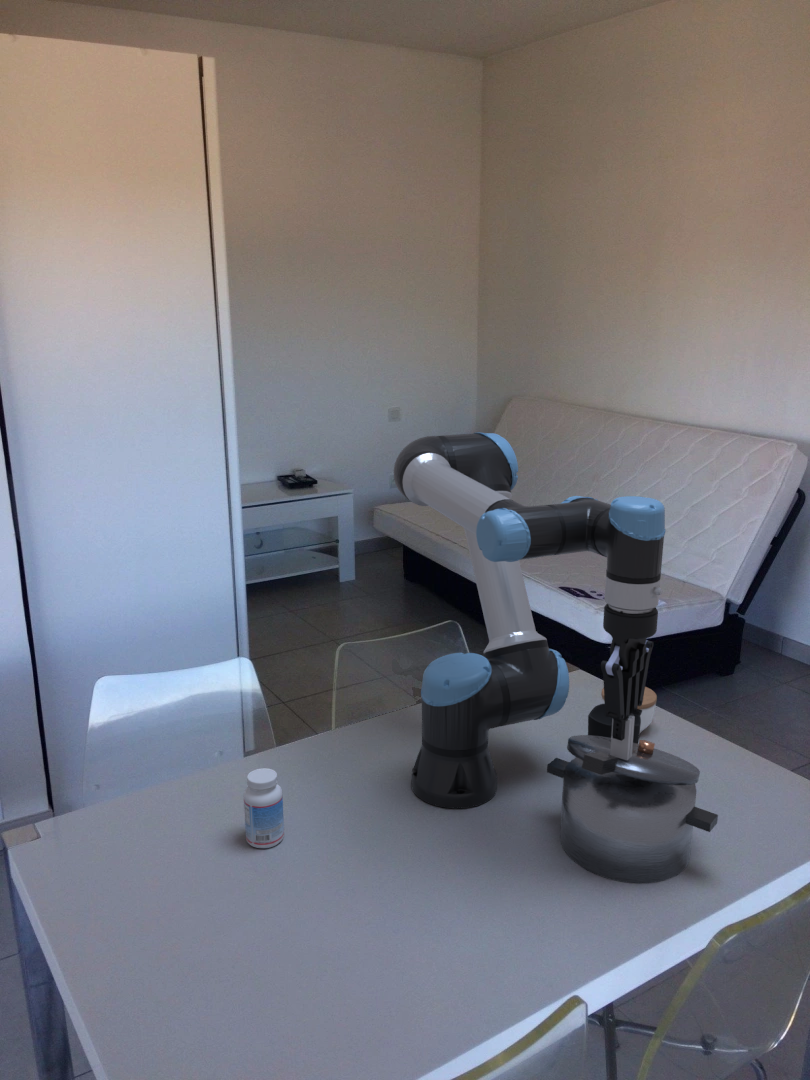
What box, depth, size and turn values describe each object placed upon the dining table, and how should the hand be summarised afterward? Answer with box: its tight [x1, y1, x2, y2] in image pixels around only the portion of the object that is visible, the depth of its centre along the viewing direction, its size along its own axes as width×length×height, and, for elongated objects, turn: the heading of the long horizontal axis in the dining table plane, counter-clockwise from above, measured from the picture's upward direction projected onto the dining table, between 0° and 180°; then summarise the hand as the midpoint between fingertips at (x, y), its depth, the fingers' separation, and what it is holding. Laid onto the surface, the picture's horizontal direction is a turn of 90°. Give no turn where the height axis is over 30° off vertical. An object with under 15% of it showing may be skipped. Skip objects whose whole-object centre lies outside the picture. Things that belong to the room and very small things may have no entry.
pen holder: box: [587, 703, 641, 744], centre depth 162 cm, size 9×9×10 cm
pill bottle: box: [243, 767, 285, 849], centre depth 139 cm, size 6×6×11 cm
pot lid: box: [566, 734, 701, 785], centre depth 134 cm, size 20×24×3 cm
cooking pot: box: [546, 757, 719, 884], centre depth 138 cm, size 27×20×11 cm
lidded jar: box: [600, 686, 658, 735], centre depth 176 cm, size 11×11×9 cm
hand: (621, 755), depth 131 cm, fingers closed
